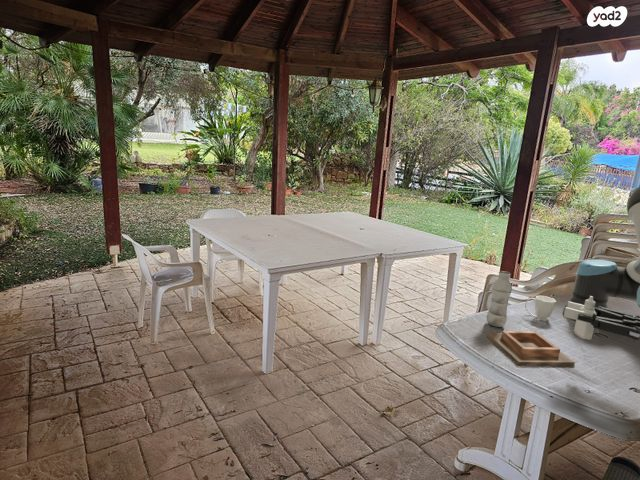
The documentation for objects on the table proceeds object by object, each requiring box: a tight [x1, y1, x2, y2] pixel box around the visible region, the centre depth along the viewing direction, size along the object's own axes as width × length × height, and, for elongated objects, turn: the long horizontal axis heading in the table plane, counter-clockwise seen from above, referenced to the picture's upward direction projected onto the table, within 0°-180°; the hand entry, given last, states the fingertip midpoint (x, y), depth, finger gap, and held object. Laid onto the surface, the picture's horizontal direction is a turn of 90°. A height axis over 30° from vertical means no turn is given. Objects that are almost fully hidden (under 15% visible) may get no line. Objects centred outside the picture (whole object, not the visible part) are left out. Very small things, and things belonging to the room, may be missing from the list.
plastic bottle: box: [486, 270, 513, 328], centre depth 143 cm, size 6×7×20 cm
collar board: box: [486, 330, 576, 367], centre depth 127 cm, size 18×18×4 cm
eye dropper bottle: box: [573, 296, 597, 341], centre depth 114 cm, size 4×6×12 cm
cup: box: [524, 295, 557, 322], centre depth 154 cm, size 7×10×8 cm
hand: (566, 308), depth 117 cm, fingers closed on eye dropper bottle, 5 cm apart
